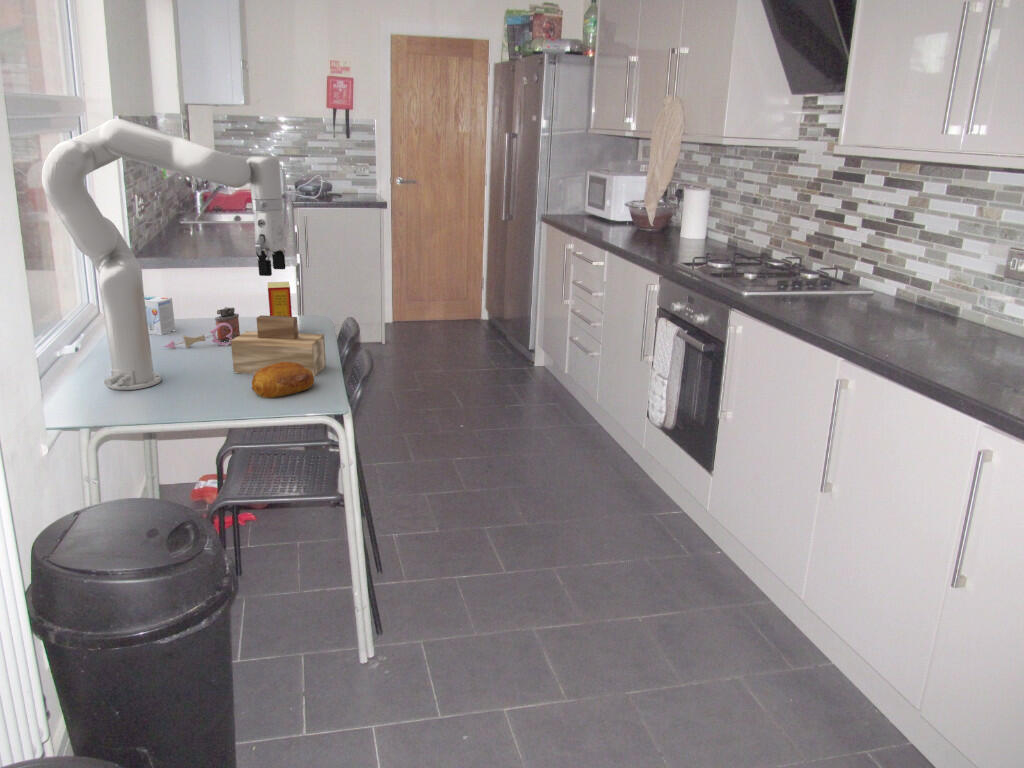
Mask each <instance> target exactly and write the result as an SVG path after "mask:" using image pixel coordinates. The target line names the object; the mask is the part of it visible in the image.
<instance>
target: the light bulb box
mask: <svg viewBox="0 0 1024 768" xmlns="http://www.w3.org/2000/svg"><path fill="white" fill-rule="evenodd" d="M144 300H145V307H146V315H147V322H148V330H149V335H154V336H164V335H166V334H165V333H167V334H169V333H168V332H170V333H172V332H171V331H173V330H175V331H176V325H175V324H176V323H175V317H174V316H175V315H174V307H173V298H172V297H163V296H153V295H152V296H151V295H144ZM173 332H174V331H173ZM155 334H156V335H155ZM163 334H164V335H163Z"/></svg>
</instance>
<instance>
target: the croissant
mask: <svg viewBox="0 0 1024 768" xmlns="http://www.w3.org/2000/svg"><path fill="white" fill-rule="evenodd" d="M314 377H315V376H314ZM314 377H313V374H312V372H311V371H310V370H309V369H306V368H305V367H303V366H302V365H301V364H298V363H292V362H280V363H275V364H272V365H269V366H266V367H263V368H261V369H260V370H259V371H258V372H256V373H255V374H253V378H252V380H251V385H252V386H251V389H252V390H253V392H254V391H255V393H256V394H257V395H258V396H260V397H262V398H264V397H265V398H267V399H275V398H279V397H285V396H289V395H293V394H297V393H300V392H302V391H303V392H304V391H306V390H309V389H310V388H311V387H312V386H313V384H314V382H315V378H314ZM265 398H264V399H265Z"/></svg>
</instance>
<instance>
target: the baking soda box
mask: <svg viewBox="0 0 1024 768" xmlns="http://www.w3.org/2000/svg"><path fill="white" fill-rule="evenodd" d="M267 293H268V294H267V295H268V307H269V308H268V309H269V316H288V317H293V313H292V297H291V285H290V281H278V282H277V281H275V282H274V281H273V282H272V281H270V282H267Z"/></svg>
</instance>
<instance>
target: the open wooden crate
mask: <svg viewBox="0 0 1024 768" xmlns="http://www.w3.org/2000/svg"><path fill="white" fill-rule="evenodd" d="M230 347H231V358H232V367H233V373H234V372H237V373H236V374H242V373H249V374H248V375H255V373H256V372H258V371H259V370H260V369H261V368H263V367H266V366H269V365H272V364H275V363H280V362H292V363H298V364H301V365H302V366H303V367H305V368H306V369H309V370H310V371H311V372H312V374H313V377H316V376H317V375H318V374H319V373H320V372H321V371H322V370H324V369H325V368H326V367H327V363H326V362H327V359H326V342H325V338H324V339H323V340H321V341H320V342H319V343H317V344H316V345H315V346H314V347H312V348H311V347H287V346H263V345H239V344H230Z"/></svg>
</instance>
